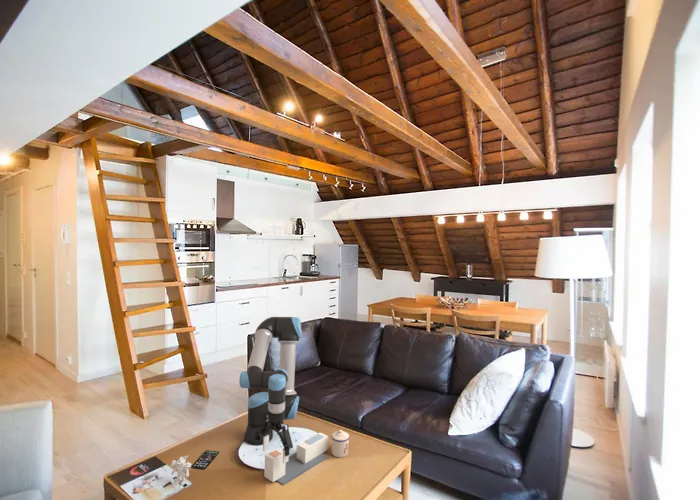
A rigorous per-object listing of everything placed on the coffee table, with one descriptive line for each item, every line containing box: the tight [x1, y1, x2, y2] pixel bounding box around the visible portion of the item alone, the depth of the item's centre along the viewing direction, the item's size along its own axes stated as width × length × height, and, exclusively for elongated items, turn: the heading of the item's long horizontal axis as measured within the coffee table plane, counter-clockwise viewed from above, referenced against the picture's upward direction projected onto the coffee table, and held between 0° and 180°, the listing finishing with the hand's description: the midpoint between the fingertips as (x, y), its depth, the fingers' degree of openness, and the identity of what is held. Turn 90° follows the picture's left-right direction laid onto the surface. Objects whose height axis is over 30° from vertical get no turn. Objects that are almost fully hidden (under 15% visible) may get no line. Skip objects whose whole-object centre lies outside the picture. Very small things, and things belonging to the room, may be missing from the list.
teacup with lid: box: [331, 429, 350, 458], centre depth 195 cm, size 12×9×12 cm
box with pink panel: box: [263, 447, 286, 483], centre depth 172 cm, size 6×7×10 cm
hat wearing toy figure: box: [170, 454, 192, 486], centre depth 166 cm, size 9×4×12 cm, turn 81°
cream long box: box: [295, 432, 329, 464], centre depth 190 cm, size 6×17×7 cm, turn 141°
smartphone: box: [190, 449, 220, 471], centre depth 184 cm, size 7×1×15 cm
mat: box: [262, 451, 329, 486], centre depth 182 cm, size 14×29×1 cm, turn 141°
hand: (275, 455), depth 172 cm, fingers open, 13 cm apart
